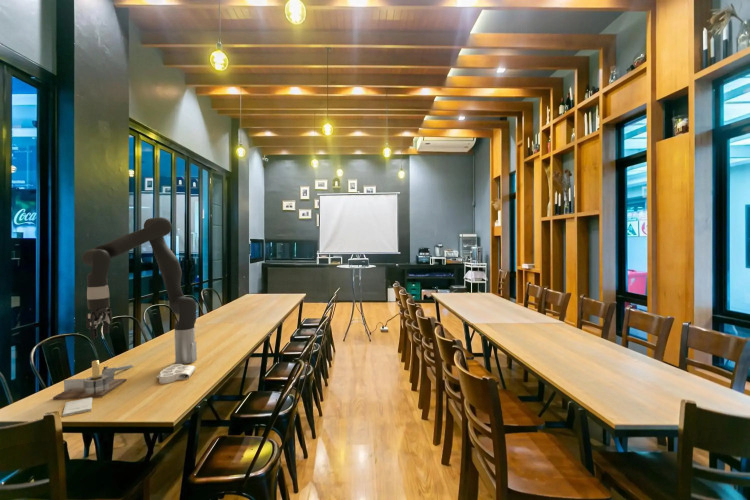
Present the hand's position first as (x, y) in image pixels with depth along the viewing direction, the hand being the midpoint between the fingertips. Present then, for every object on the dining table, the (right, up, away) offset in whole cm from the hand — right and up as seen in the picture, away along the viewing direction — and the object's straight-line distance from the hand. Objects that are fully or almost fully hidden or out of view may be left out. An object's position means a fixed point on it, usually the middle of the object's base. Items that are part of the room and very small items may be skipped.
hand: (100, 335), depth 161 cm
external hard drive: (+5, -24, -18) cm, 30 cm away
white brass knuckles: (+24, -23, +15) cm, 36 cm away
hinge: (-3, -22, 0) cm, 22 cm away
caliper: (-6, -23, +20) cm, 31 cm away
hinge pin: (+1, -22, -4) cm, 22 cm away
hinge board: (-3, -23, 0) cm, 23 cm away
